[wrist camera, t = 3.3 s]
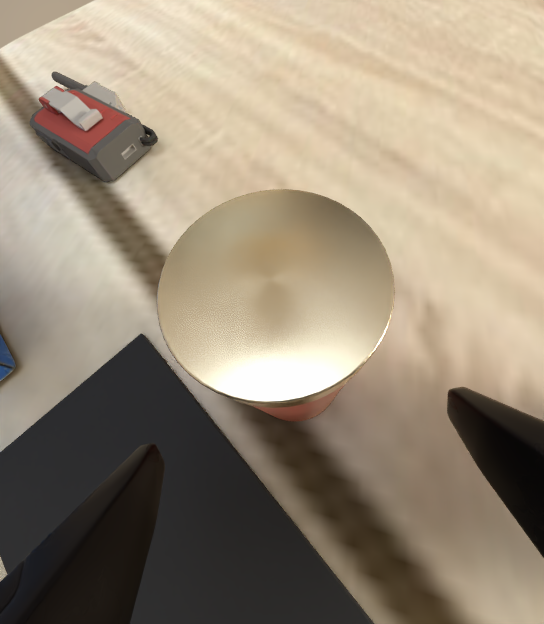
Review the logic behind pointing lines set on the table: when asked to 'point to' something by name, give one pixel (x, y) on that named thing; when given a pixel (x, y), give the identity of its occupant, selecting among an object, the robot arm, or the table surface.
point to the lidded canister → (276, 300)
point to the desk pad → (170, 503)
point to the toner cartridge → (5, 360)
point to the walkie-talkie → (91, 128)
